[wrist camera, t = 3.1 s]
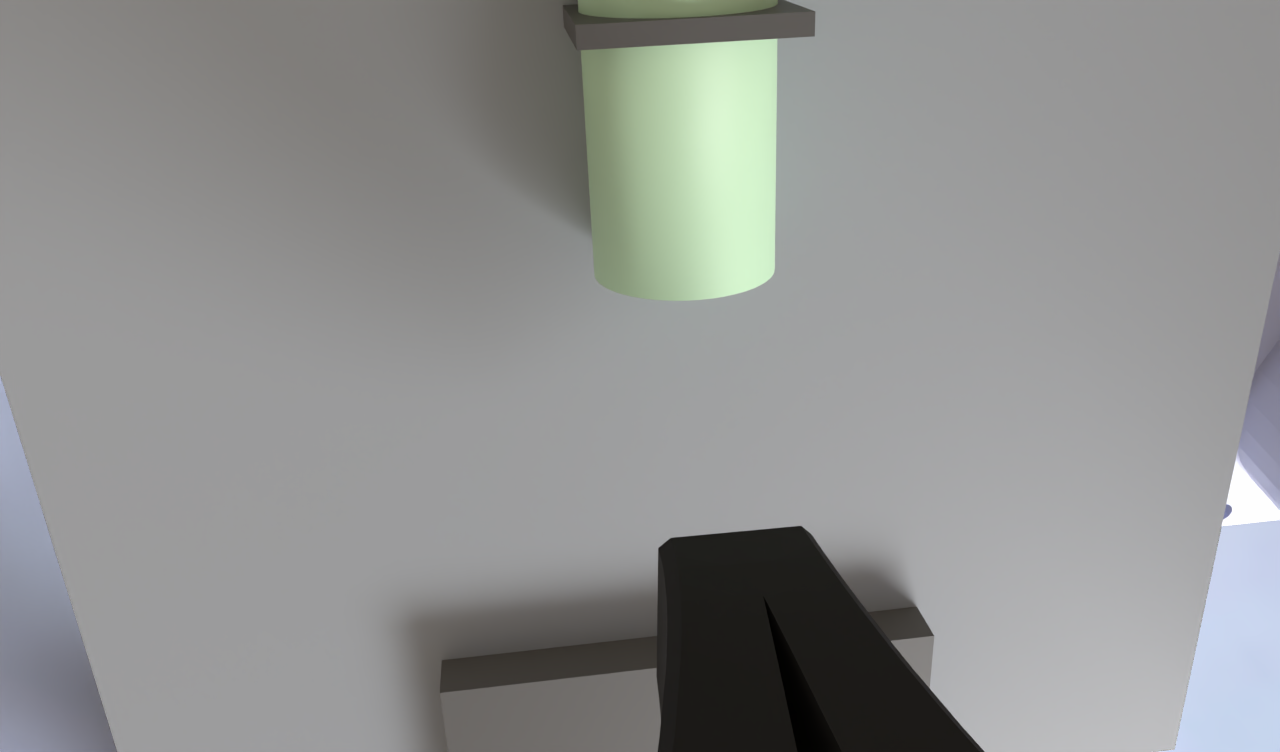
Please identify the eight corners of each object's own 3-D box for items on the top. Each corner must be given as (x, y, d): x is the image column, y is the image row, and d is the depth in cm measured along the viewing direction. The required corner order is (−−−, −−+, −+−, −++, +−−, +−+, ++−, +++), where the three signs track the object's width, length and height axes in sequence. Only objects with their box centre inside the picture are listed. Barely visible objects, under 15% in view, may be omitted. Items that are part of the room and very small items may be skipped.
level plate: (1440, -997, 9) (1822, -1356, 7) (1129, 692, 17) (1249, 843, 14) (-359, -1067, 8) (-791, -1555, 5) (181, 809, 15) (116, 1002, 13)
